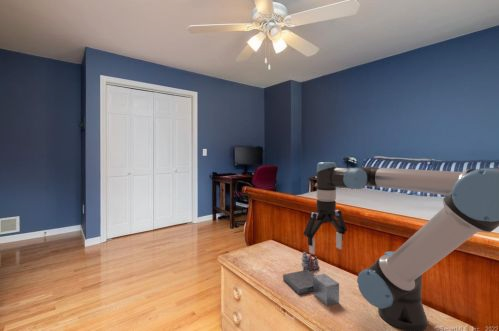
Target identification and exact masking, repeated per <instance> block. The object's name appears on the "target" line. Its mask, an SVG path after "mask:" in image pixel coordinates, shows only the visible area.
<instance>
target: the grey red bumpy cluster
mask: <svg viewBox="0 0 499 331" xmlns="http://www.w3.org/2000/svg"><path fill="white" fill-rule="evenodd" d="M300 259H301V260H302V261H301V264H300V265H301V266H302V267H303V268H304V269H305V270H309V271H317V270H318V269H319V266H320V265H319V260H318V257H317V256H316V255H315V256H314V258H312V253H310V252H309V253H307V251H302V255H301V258H300ZM302 263H303V264H302Z"/></svg>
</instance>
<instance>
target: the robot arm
mask: <svg viewBox="0 0 499 331" xmlns="http://www.w3.org/2000/svg"><path fill="white" fill-rule="evenodd" d="M315 174H316V199H317V200H316V210H317V211H316V212H312V211H311V212H310V213H309V214H310V215H309V219H308V221H307V224H306V226H305V228H304V231H303V236H304V237H307V245H308V252H309V254H310V253H311V255H315V254H316V253H315V252H316V246H315V245H316V239H315V238H316V237H315V235H316V234H317V232H318V230H320V227H321V226H322V225H324V224H327V223H331V224H332V226H333V227H334V228H335V229H336V231H337V232H335V248H336V249H339V250H343V241H344V235H345V234H346V232H348V229H347V226H346V223H345V220H344V219H343V213H342V210H339V209H337V208H336V207H337V201H336V199H337V187H339V188H345V189H350V190H361V189H364V187H374V188H375V187H376V188H385V189H393V190H400V191H401V190H402V191H409V192H417V193H419V192H420V193H426V194H433V195H442V196H445V197H443V199H442V203H443V207H442V209H440V210H439V211H438V212H437V213H436V214H434V215H433V217H431V218H430V219H429V220H428V221H427V222H426V223H425V224H423V226H421V227H420V228H419V229H418V230H417V231H415V232H414V233H413V235H412V236H411V237H409V238H408V239H407V240H406V241H405V242H404V243H403V244H401V246H399V247H398V248H397V249H396V250H395V251H386V252H384V255H381V256H380V257H379V258H378V259H376V261H375V262H374V263H372V264H371V265H370V266H369V267H367V268H365V269H363V270H361V271H360V272H359V273H358V275H357V278H356V279H357V280H356V281H357V284H358V285H357V287H358V290H359V292H360V293H361V296H362V297H363V298H364V299H365V300H366V302H368V303H369V304H370V305H371V306H373V307H376V308H377V312H378V315H379V316H380V318H382V320H384V321H385V322H386V323H387V324H388V325H391V326H393V327H395V328H397V329H400V330H403V331H424V330H426V329H427V327H428V318H427V314H426V312H425V309H424V306H423V303H422V293H423V292H422V289H423V288H422V287H423V285H422V284H423V283H422V282H423V274H424V273H426V272H427V271H428V270H429V269H431V268H432V267H433V266H435V265H436V264H437V263H439V262H440V261H441V260H443V259H444V258H446V257H447V256H448V255H449V254H451V253H452V252H453V251H455V250H456V249H457V248H458V247H460V246H461V245H463V244H464V243H466V242H467V241H468V240H469V239H470V238H472V237H473V236H474V235H476V234H477V233H480V232H481V233H485V234H486V233H492V232H493V231H494V230H496V228H498V227H499V167H483V168H482V167H481V168H468V169H466V170H464V171H452V170H451V171H447V170H430V169H414V168H413V169H411V168H409V169H408V168H395V167H394V168H393V167H377V166H366V167H365V166H364V167H363V166H361V167H338V166H337V163H336V162H331V161H326V162H325V161H324V162H322V161H321V162H318V163H317V165H316V173H315Z"/></svg>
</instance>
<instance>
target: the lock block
mask: <svg viewBox="0 0 499 331" xmlns="http://www.w3.org/2000/svg"><path fill="white" fill-rule="evenodd" d="M315 275H316V276H313V292H312V294H313V296H315V297H316V298H317V299H318V300H319V301H320V302H322V304H323V305H325V306H326V307H329V306H333V305H336V304H339V303H340V283H339V282H338V281H337V280H334V279H333V278H332V277H330V276H329V275H327V274H326V273H321V274H315Z"/></svg>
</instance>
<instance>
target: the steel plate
mask: <svg viewBox="0 0 499 331" xmlns="http://www.w3.org/2000/svg"><path fill="white" fill-rule="evenodd" d="M316 275H317V274H314V273H313V272H312V271H311V270H306V269H305V270H299V271H294V272H289V273H283V275H282V280H283V281H284V283H286V284H287V285H288V286H289V288H291V289H292V290H293V291H294V292H295V293H296V294H297V295H299V296H301V295H306V294H309V293H313V276H316Z"/></svg>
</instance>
